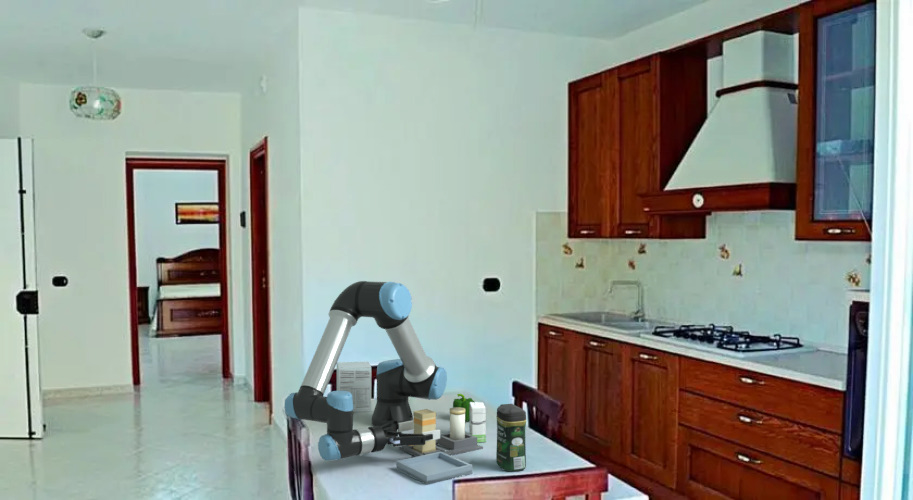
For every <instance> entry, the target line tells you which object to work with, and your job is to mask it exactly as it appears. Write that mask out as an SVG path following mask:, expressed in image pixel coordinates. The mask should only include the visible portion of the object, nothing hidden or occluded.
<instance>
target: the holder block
mask: <svg viewBox="0 0 913 500" xmlns="http://www.w3.org/2000/svg"><path fill="white" fill-rule="evenodd" d="M437 445H439V446H437ZM440 446H441V447H440ZM413 447H414V445H404V446H398V448H399V450H401V451H403V452H404V453H407V454H409V455H411V456H414V457H417V456H422V455H427V454H431V453H436V452H443V453H446V454H448V455H450V456H451V455H452V456H455V454H456V455H460V454H459V453H461V454H464V453H468V452H473V451H478V450H483V448H484V446H482V445H479V444H478V442H477V437H475V436H473V435H470V434H469V433H467V432H465V439H460V440H452V439H450V432H448V433H442V434H441V433H440V439H435V448H436V450H434V451H429V452H425V453H423V454H422V453H420V452H418V451H416V450H413ZM444 448H445V449H444ZM447 448H448V450H446V449H447Z"/></svg>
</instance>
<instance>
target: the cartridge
mask: <svg viewBox="0 0 913 500" xmlns="http://www.w3.org/2000/svg"><path fill="white" fill-rule="evenodd" d="M449 433H450V439H452V440H460V439H465V433H466V422H465V408H461V407H454V408H453V407H451V408H449Z"/></svg>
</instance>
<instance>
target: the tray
mask: <svg viewBox="0 0 913 500" xmlns="http://www.w3.org/2000/svg"><path fill="white" fill-rule="evenodd" d="M396 471H400V472H401V473H403V474H405V475H407V476H408V477H410V478H413V479H415V480H417V481H418V482H421V483H423V484H425V485H426V486H427V485H432V484H436V483H440V482H444V481H448V480H453V479H456V478H455V477H457V478H460V477H459V476H461V477H463V476H462V475H465V476H468V475H472V474H473V464H471V463H468V462H467V461H464V460H462V459H460V458H456V457H454V456H453V455H452V456H450V455H448V454H446V453H443V452H436V453H431V454H427V455H422V456H417V457H416V456H414V457H409V458H403V459H400V460H396ZM452 478H453V479H452Z"/></svg>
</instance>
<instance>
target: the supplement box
mask: <svg viewBox="0 0 913 500" xmlns="http://www.w3.org/2000/svg"><path fill="white" fill-rule="evenodd" d="M336 391H348V392H350V393H351V394H352V399H353V413H355V412H356V413H357V412H361V413H363V412H371V411H372V366H371V363H370V362H369V361H347V362H345V361H342V362H338V361H337V364H336Z"/></svg>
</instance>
